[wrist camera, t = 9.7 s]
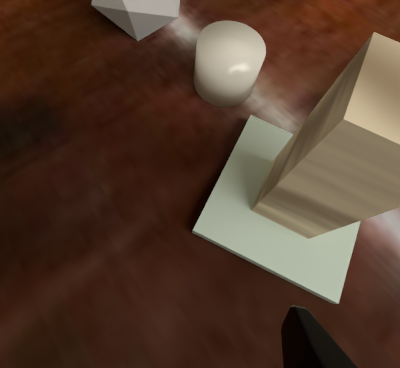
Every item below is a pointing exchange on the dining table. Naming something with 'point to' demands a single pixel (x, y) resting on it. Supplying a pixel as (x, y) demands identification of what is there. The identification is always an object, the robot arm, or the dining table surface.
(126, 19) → the die
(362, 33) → the dining table surface
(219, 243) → the tile
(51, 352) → the dining table surface
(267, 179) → the maple block
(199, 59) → the cream marshmallow cylinder
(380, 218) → the dining table surface
